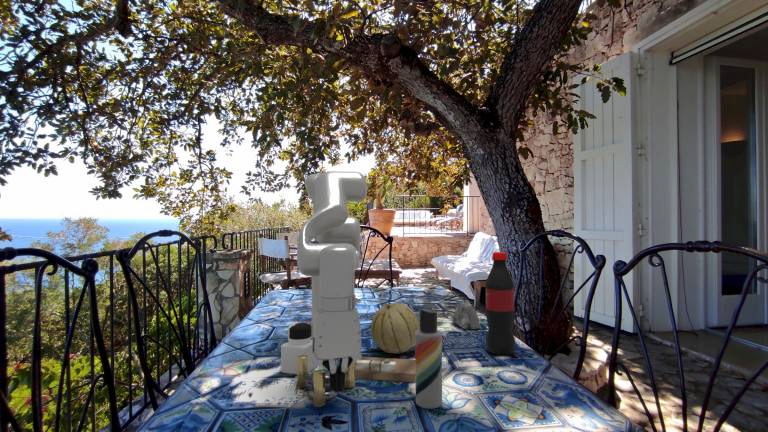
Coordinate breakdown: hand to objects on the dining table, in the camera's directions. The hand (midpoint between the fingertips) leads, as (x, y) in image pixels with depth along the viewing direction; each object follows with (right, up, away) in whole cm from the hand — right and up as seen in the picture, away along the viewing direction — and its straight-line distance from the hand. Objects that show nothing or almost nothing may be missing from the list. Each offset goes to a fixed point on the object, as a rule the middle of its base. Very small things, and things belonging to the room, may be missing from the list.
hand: (337, 389), depth 84 cm
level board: (+9, -3, +18) cm, 20 cm away
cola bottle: (+45, -4, +33) cm, 56 cm away
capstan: (-4, -3, +4) cm, 6 cm away
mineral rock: (+41, -5, +64) cm, 77 cm away
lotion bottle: (+20, -3, 0) cm, 20 cm away
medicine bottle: (-12, -4, +20) cm, 24 cm away
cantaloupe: (+13, -4, +34) cm, 36 cm away
